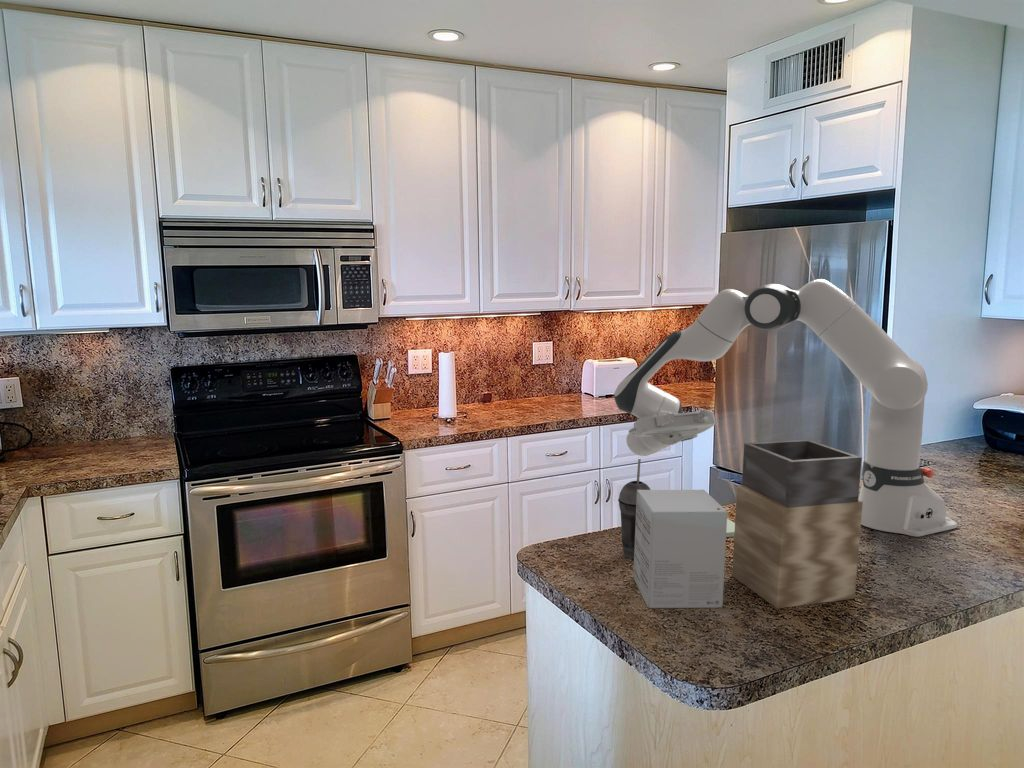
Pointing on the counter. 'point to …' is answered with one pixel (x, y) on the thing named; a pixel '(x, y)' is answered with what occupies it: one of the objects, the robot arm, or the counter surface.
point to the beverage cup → (630, 513)
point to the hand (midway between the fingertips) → (689, 415)
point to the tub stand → (798, 522)
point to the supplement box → (679, 549)
